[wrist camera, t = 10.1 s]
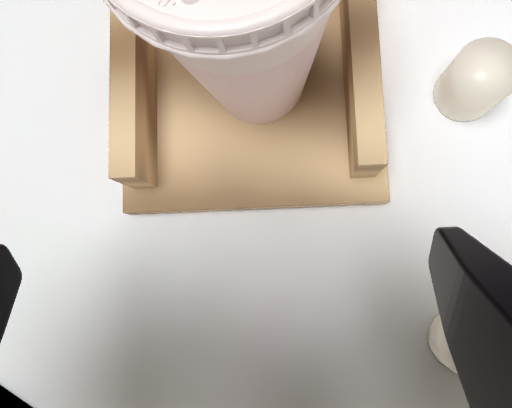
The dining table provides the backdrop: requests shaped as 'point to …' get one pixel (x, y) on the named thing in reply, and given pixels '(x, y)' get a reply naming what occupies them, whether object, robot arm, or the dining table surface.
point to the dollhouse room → (11, 400)
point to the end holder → (250, 129)
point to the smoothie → (236, 46)
